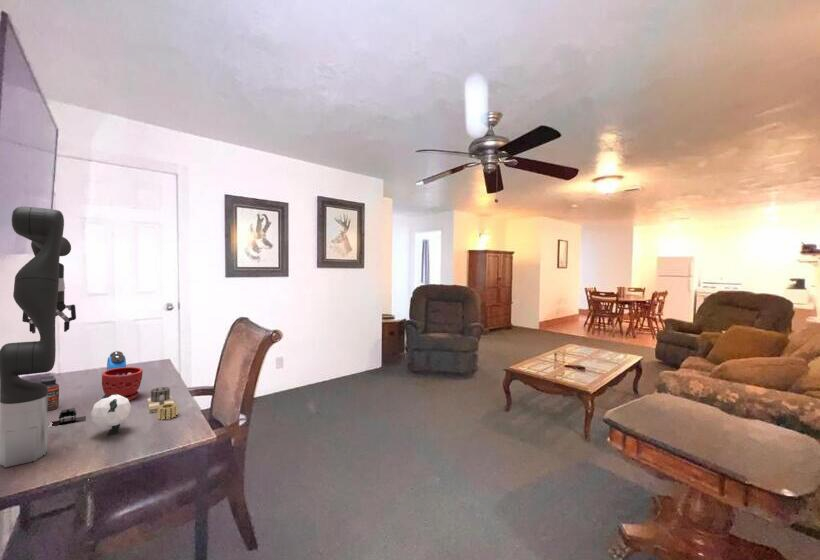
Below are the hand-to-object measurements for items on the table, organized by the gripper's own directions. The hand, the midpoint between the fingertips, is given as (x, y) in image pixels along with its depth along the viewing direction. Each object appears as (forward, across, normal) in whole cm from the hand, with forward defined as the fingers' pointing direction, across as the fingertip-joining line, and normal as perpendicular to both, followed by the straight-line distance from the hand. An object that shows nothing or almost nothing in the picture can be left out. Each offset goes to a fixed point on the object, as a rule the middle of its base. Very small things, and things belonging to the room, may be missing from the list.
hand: (50, 332), depth 135 cm
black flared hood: (+30, +6, -20) cm, 36 cm away
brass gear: (+29, +34, -34) cm, 56 cm away
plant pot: (+29, +22, -4) cm, 37 cm away
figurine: (+29, +18, -39) cm, 52 cm away
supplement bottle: (+29, 0, -1) cm, 29 cm away
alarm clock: (+29, +20, +19) cm, 40 cm away
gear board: (+29, +34, -20) cm, 49 cm away
